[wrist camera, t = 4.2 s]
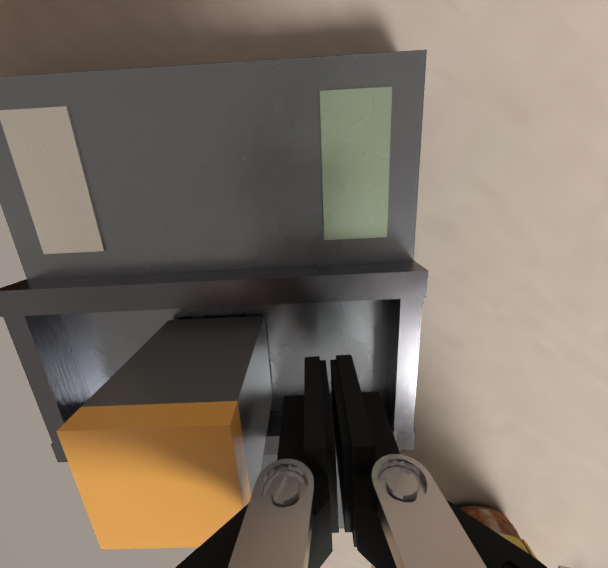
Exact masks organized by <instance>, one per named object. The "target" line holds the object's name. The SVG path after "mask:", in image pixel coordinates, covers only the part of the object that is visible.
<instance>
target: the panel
mask: <svg viewBox="0 0 608 568" xmlns="http://www.w3.org/2000/svg"><path fill="white" fill-rule="evenodd" d="M426 53H427V50H416V51H400V52H384V53H368V54H352V55H337V56H321V57H305V58H289V59H273V60H257V61H242V62H226V63H210V64H194V65H178V66H163V67H147V68H131V69H115V70H99V71H83V72H68V73H52V74H36V75H20V76H4V77H0V203H1V206H2V209H3V212H4V215H5V218H6V221H7V223H8V226H9V229H10V232H11V235H12V238H13V241H14V243H15V246H16V249H17V252H18V255H19V258H20V261H21V263H22V266H23V269H24V272H25V275H26V278H27V279H26V280H23V281H20V282H17V283H14V284H11V285H8V286H5V287H2V288H0V317H4V320H5V322H6V325H7V328H8V330H9V332H10V335H11V338H12V340H13V343H14V345H15V348H16V351H17V353H18V356H19V358H20V361H21V363H22V366H23V368H24V371H25V374H26V376H27V379H28V381H29V384H30V386H31V389H32V391H33V394H34V397H35V399H36V401H37V404H38V407H39V409H40V412H41V414H42V417H43V420H44V422H45V425H46V427H47V430H48V432H49V435H50V437H51V440H52V442H53V443H52V444H51V446H52V448H53V451H54V453H55V456H56V458H57V461H58V462H68V461H67V458H66V455H65V453H64V450H63V447H62V445H61V442H60V440H59V437H58V434H57V432H56V431H57V430H58V429H59V428H60V427H61V426H62V425H63V424H64V423H65V422H66V421H67V420H68V419H69V418H70V417H71V416H72V415H73V414H74V413H75V412H76V411H77V410H78V409H79V408H80V407H81V406H82V405H83V404H84V403H85V402H86V401H87V400H88V399H89V398H90V397H91V396H92V395H93V394H94V393H95V392H96V391H98V390H99V389H100V388H101V387H102V386H103V385H104V384H105V383H106V382H107V381H108V380H109V379H110V378H111V377H112V376H113V375H114V374H115V373H116V372H117V371H118V370H119V369H120V368H121V367H122V366H123V365H124V364H125V363H126V362H127V361H128V360H129V359H130V358H131V357H132V356H133V355H134V354H135V353H136V352H137V351H138V350H139V349H140V348H141V347H142V346H143V345H144V344H145V343H146V342H147V341H148V340H149V339H150V338H151V337H152V336H153V335H154V334H155V333H156V332H157V331H158V330H159V329H160V328H161V327H162V326H163V325H164V324H165V323H166V322H167V321H168V320H181V319H204V318H226V317H248V316H264V317H265V327H266V337H267V347H268V357H269V367H270V377H271V387H272V403H271V409H270V415H269V422H268V428H267V434H266V441H265V447H264V453H263V460H262V466H261V471H262V470H263V469H264V468H265V467H266V466H268V465H269V464H271V463H272V462H274V461H277V456H278V446H279V437H280V427H281V418H282V408H283V399H284V396H291V395H304V362H305V357H314V356H320V360H326V367H327V376H328V385H329V393H330V402H331V411H332V389H331V365H330V360H335V359H336V355H352V359H353V362H354V366H355V370H356V374H357V377H358V381H359V385H360V389H361V392H374V391H377V392H378V393H379V395H380V397H381V400H382V403H383V406H384V409H385V412H386V415H387V417H388V420H389V423H390V426H391V429H392V432H393V435H394V437H395V440H396V443H397V446H398V449H399V452H400V454H402V450H414V443H415V429H414V427H413V425H414V412H415V399H416V385H417V372H418V359H419V346H420V332H421V319H422V306H423V298H426V290H427V277H428V270H426V269H425V268H424V267H422V266H421V265H419V264H418V263H416V262H415V261H414V245H415V229H416V213H417V197H418V181H419V165H420V149H421V133H422V117H423V101H424V85H425V69H426ZM332 420H333V414H332ZM335 450H336V448H335ZM336 472H337V498H338V524H339V528H344V520H343V511H342V502H341V493H340V484H339V475H338V466H337V457H336ZM260 473H261V472H260Z"/></svg>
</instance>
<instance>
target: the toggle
mask: <svg viewBox="0 0 608 568" xmlns="http://www.w3.org/2000/svg"><path fill="white" fill-rule="evenodd" d="M271 403H272V387H271V377H270V367H269V357H268V347H267V337H266V327H265V317H264V316H248V317H226V318H204V319H181V320H168V321H167V322H166V323H165V324H164V325H163V326H162V327H161V328H160V329H159V330H158V331H157V332H156V333H155V334H154V335H153V336H152V337H151V338H150V339H149V340H148V341H147V342H146V343H145V344H144V345H143V346H142V347H141V348H140V349H139V350H138V351H137V352H136V353H135V354H134V355H133V356H132V357H131V358H130V359H129V360H128V361H127V362H126V363H125V364H124V365H123V366H122V367H121V368H120V369H119V370H118V371H117V372H116V373H115V374H114V375H113V376H112V377H111V378H110V379H109V380H108V381H107V382H106V383H105V384H104V385H103V386H102V387H101V388H100V389H99V390H98V391H96V392H95V393H94V394H93V395H92V396H91V397H90V398H89V399H88V400H87V401H86V402H85V403H84V404H83V405H82V406H81V407H80V408H79V409H78V410H77V411H76V412H75V413H74V414H73V415H72V416H71V417H70V418H69V419H68V420H67V421H66V422H65V423H64V424H63V425H62V426H61V427H60V428H59V429H58V430H57V431H56V432H57V434H58V437H59V440H60V442H61V445H62V447H63V450H64V453H65V455H66V458H67V461H68V463H69V466H70V468H71V471H72V474H73V476H74V479H75V482H76V484H77V487H78V489H79V492H80V494H81V497H82V500H83V502H84V505H85V508H86V510H87V513H88V516H89V518H90V521H91V524H92V526H93V529H94V531H95V534H96V537H97V539H98V542H99V545H100V547H101V549H102V550H106V549H143V548H178V547H199V546H201V545H202V544H203V543H204V542H205V541H206V540H207V539H208V538H210V537H211V536H212V535H213V534H214V533H215V532H216V531H218V530H219V529H220V528H221V527H222V526H223V525H224V524H225V523H227V522H228V521H229V520H230V519H231V518H232V517H233V516H235V515H236V514H237V513H238V512H239V511H240V510H241V509H242V508H244V507H245V506H246V505H247V504H248V503H249V501H250V498H251V495H252V492H253V489H254V486H255V483H256V480H257V478H258V476H259V474H260V472H261V466H262V460H263V453H264V447H265V441H266V434H267V428H268V422H269V415H270V409H271Z"/></svg>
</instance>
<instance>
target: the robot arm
mask: <svg viewBox="0 0 608 568" xmlns="http://www.w3.org/2000/svg"><path fill="white" fill-rule="evenodd" d="M330 365H331V389H332V411H331V402H330V393H329V385H328V376H327V367H326V360H320V356H314V357H305V362H304V395H291V396H284V399H283V408H282V418H281V427H280V437H279V446H278V456H277V461H274V462H272V463H271V464H269V465H268V466H266V467H265V468H264V469H263V470H262V471H261V473H260V474H259V476H258V478H257V480H256V483H255V486H254V489H253V492H252V495H251V498H250V501H249V503H248V504H247V505H246V506H245V507H244V508H242V509H241V510H240V511H239V512H238V513H237V514H236V515H235V516H233V517H232V518H231V519H230V520H229V521H228V522H227V523H225V524H224V525H223V526H222V527H221V528H220V529H219V530H218V531H216V532H215V533H214V534H213V535H212V536H211V537H210V538H208V539H207V540H206V541H205V542H204V543H203V544H202V545H201V546H199V547H198V548H197V549H196V550H195V551H194V552H193V553H192V554H190V555H189V556H188V557H187V558H186V559H185V560H184V561H182V562H181V563H180V564H179V565H178V566H177V567H176V568H320V567H321V565H322V564H323V563H324V561H325V560H326V559H327V558H328V556H329V555H330V554H331V552H332V533H339V524H338V498H337V472H336V457H337V466H338V475H339V484H340V493H341V502H342V511H343V520H344V529H345V532H352V534H353V541H354V547H357V550H358V551H359V552H360V553H361V554H362V555H363V556H364V557H365V558H366V559H367V560H368V561H369V562H370V563H371V568H547V567H546V566H545V565H543V564H542V563H541V562H540V561H538V560H537V559H536V558H534V557H533V556H532V555H530V554H529V553H527V552H525V551H524V550H522V549H521V548H519V547H518V546H516V545H515V544H513V543H512V542H510V541H509V540H507V539H506V538H504V537H503V536H501V535H499V534H498V533H496V532H495V531H493V530H492V529H490V528H489V527H487V526H486V525H484V524H483V523H481V522H480V521H478V520H477V519H475V518H473V517H472V516H470V515H469V514H467V513H466V512H464V511H463V510H461V509H460V508H458V507H457V506H455V505H454V504H452V503H451V502H449V501H447V500H446V499H445V497H444V496H443V494H442V492H441V491H440V489H439V487H438V486H437V484H436V482H435V481H434V479H433V477H432V476H431V474H430V473H429V472H428V470H427V469H426V468H425V466H423V465H422V464H421V463H420V462H418V461H417V460H415V459H413V458H411V457H409V456H406V455H401V454H400V452H399V449H398V446H397V443H396V440H395V437H394V435H393V432H392V429H391V426H390V423H389V420H388V417H387V415H386V412H385V409H384V406H383V403H382V400H381V397H380V395H379V393H378V392H377V391H374V392H361V389H360V385H359V381H358V377H357V374H356V370H355V366H354V362H353V359H352V355H336V359H335V360H330ZM332 414H333V420H332ZM335 448H336V450H335ZM558 568H568V567H563V566H558Z"/></svg>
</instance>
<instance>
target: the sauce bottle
mask: <svg viewBox="0 0 608 568" xmlns="http://www.w3.org/2000/svg"><path fill="white" fill-rule="evenodd" d="M459 508H460V509H461V510H463V511H464V512H466V513H467V514H469V515H470V516H472V517H473V518H475V519H477V520H478V521H480V522H481V523H483V524H484V525H486V526H487V527H489V528H490V529H492V530H493V531H495V532H496V533H498V534H499V535H501V536H503V537H504V538H506V539H507V540H509V541H510V542H512V543H513V544H515V545H516V546H518V547H519V548H521V549H522V550H524V551H525V552H527V553H529V554H530V555H532V556H533V557H534V558H536V557H535V555H534V553H533V552H532V550H531V549H530V547H529V546H528V544H527V543H526V542H525V541H524V540H523V539H522V540H521V538H520V536H519V535H518V533H517V531H516V529H515V528H514V526H513V525H512V524H511V523H510V521H509V520H508V519H507V518H506V517H505V516H504V515H503V514H502V513H501V512H499V511H496V510H494V509H491V508H489V507H482V506H475V505H473V506H472V505H471V506H463V507H459ZM536 559H537V558H536Z"/></svg>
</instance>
